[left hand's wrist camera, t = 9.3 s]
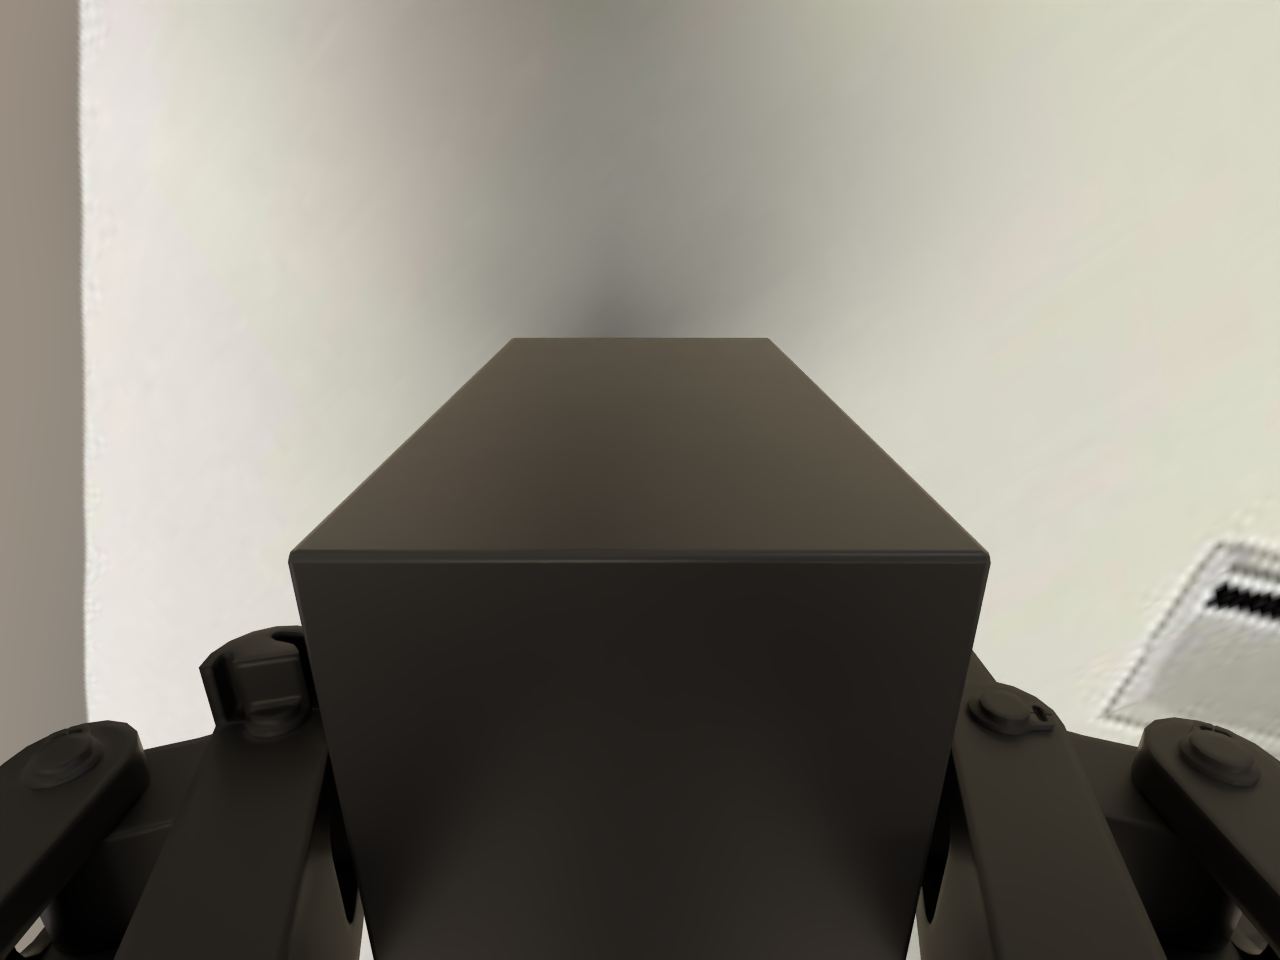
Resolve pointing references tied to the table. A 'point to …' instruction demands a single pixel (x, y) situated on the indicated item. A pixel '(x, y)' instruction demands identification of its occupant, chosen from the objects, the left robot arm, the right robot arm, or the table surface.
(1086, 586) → the table surface
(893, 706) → the bar
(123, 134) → the table surface
